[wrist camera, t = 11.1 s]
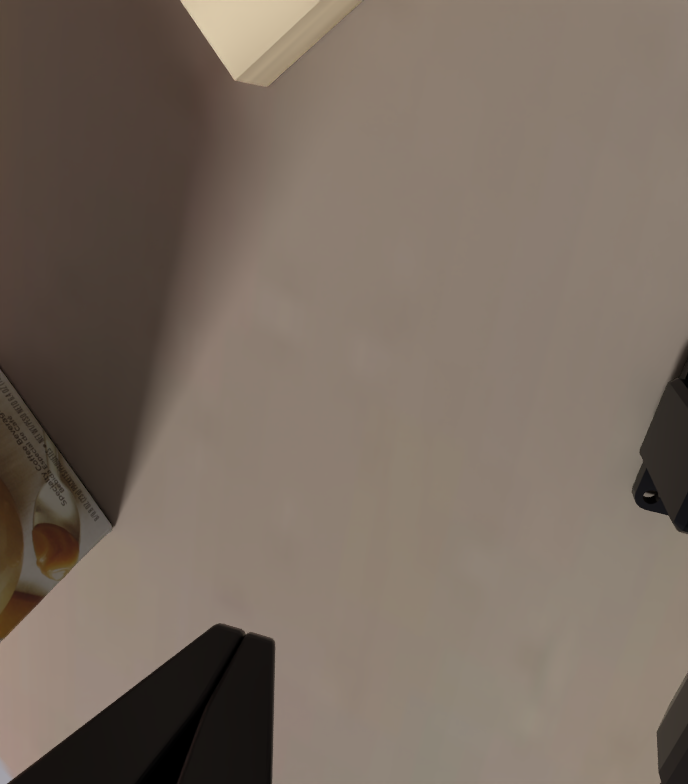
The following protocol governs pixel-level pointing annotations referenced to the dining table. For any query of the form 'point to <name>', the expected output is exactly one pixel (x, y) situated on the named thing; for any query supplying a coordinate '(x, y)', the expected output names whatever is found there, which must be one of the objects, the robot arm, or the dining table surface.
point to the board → (265, 32)
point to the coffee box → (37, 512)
